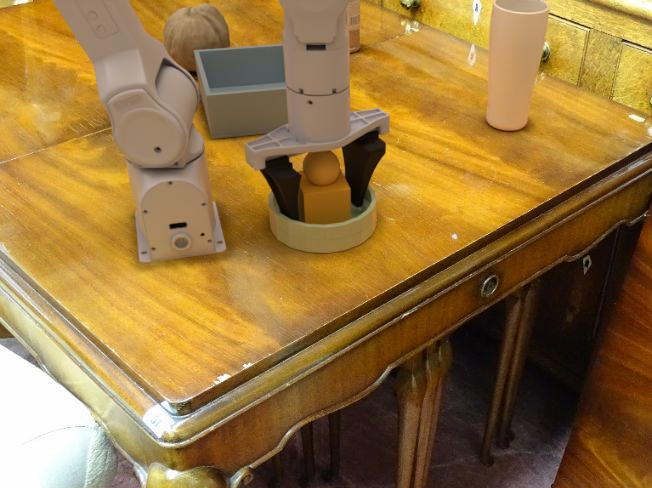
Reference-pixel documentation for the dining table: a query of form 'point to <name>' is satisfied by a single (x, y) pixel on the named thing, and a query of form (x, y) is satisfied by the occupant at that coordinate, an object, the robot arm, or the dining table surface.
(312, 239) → the bowl
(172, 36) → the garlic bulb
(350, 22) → the sprinkles bottle
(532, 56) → the drinking glass
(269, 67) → the bin
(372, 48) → the dining table surface
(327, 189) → the orange ball-topped block
